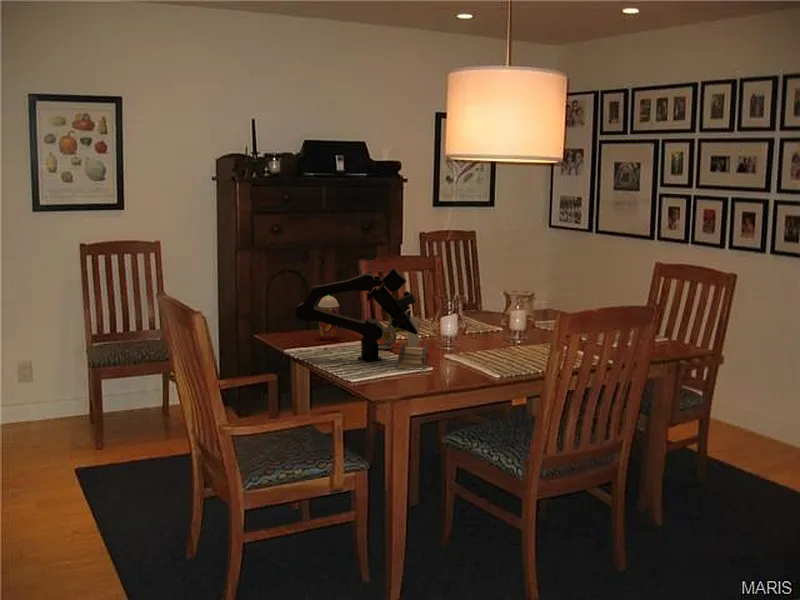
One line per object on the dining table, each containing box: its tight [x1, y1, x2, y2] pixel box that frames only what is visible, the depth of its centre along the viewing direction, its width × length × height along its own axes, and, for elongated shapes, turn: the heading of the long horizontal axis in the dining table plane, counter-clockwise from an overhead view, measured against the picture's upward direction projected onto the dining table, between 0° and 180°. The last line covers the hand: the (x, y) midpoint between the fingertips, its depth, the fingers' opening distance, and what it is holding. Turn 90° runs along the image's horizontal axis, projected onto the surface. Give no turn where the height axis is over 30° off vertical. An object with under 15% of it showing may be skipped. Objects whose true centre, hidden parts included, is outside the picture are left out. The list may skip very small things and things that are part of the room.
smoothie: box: [317, 295, 340, 341], centre depth 339 cm, size 8×8×20 cm
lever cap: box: [407, 316, 422, 348], centre depth 307 cm, size 4×5×10 cm
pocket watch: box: [378, 320, 398, 351], centre depth 326 cm, size 8×8×10 cm
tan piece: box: [397, 341, 428, 370], centre depth 309 cm, size 24×9×4 cm, turn 177°
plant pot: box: [387, 309, 410, 332], centre depth 359 cm, size 9×9×9 cm
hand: (417, 331), depth 307 cm, fingers closed on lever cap, 5 cm apart
